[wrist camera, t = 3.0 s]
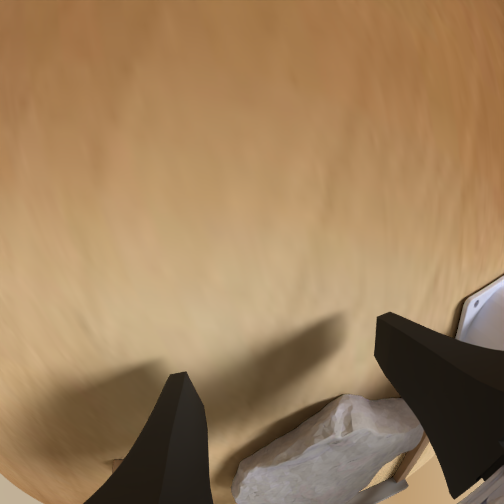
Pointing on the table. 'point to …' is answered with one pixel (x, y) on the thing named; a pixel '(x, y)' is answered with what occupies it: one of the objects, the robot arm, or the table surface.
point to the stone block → (329, 453)
